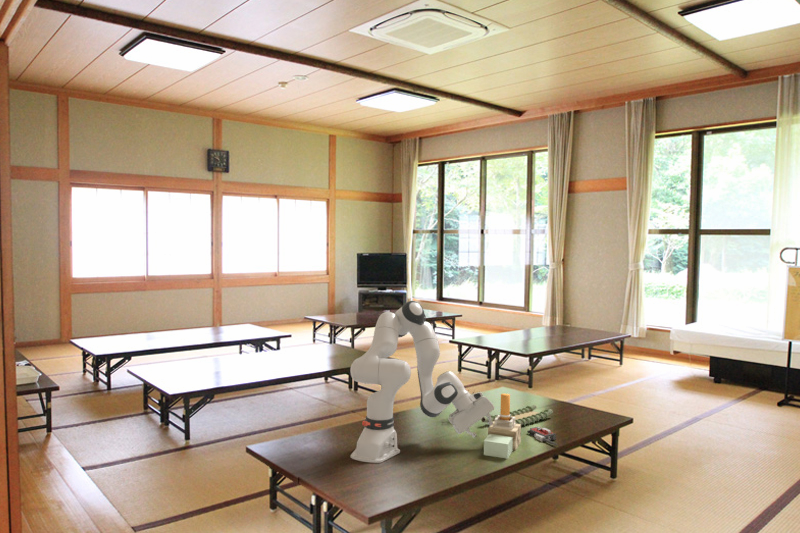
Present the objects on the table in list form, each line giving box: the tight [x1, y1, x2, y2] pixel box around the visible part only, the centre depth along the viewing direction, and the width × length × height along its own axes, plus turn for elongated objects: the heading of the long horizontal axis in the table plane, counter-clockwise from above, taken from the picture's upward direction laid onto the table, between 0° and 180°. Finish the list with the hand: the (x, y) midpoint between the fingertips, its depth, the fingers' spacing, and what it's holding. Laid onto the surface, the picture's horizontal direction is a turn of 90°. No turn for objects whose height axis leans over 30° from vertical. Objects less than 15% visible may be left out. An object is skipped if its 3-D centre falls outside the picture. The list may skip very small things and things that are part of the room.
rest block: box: [483, 434, 514, 460], centre depth 237 cm, size 10×10×6 cm
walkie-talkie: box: [526, 426, 558, 446], centre depth 256 cm, size 9×4×20 cm
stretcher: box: [480, 404, 554, 427], centre depth 282 cm, size 41×14×5 cm, turn 129°
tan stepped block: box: [487, 414, 522, 451], centre depth 248 cm, size 12×12×12 cm
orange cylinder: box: [499, 393, 511, 421], centre depth 248 cm, size 4×4×13 cm
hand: (483, 430), depth 245 cm, fingers open, 8 cm apart
